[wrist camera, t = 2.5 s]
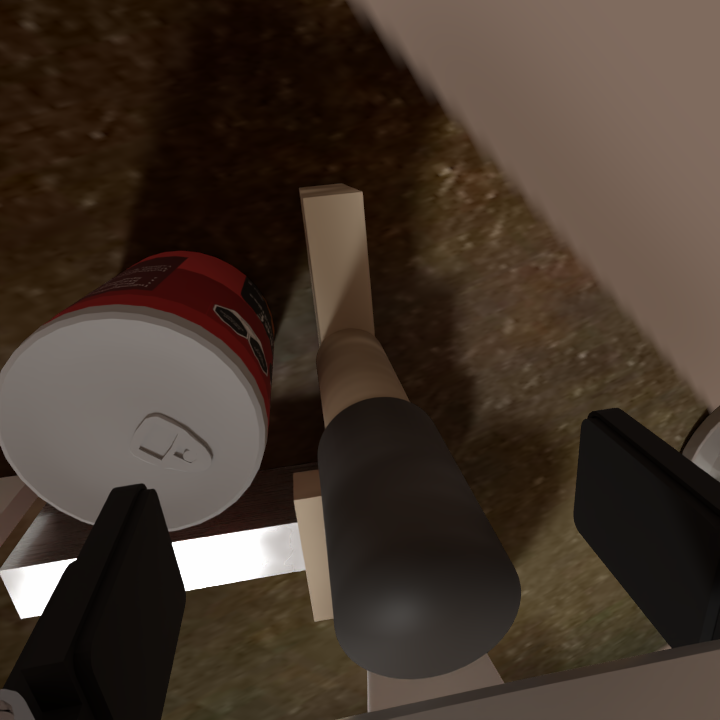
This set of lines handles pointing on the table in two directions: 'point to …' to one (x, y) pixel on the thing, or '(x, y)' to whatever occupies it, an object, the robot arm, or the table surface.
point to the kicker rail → (174, 543)
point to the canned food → (145, 391)
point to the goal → (13, 503)
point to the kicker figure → (387, 487)
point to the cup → (430, 685)
